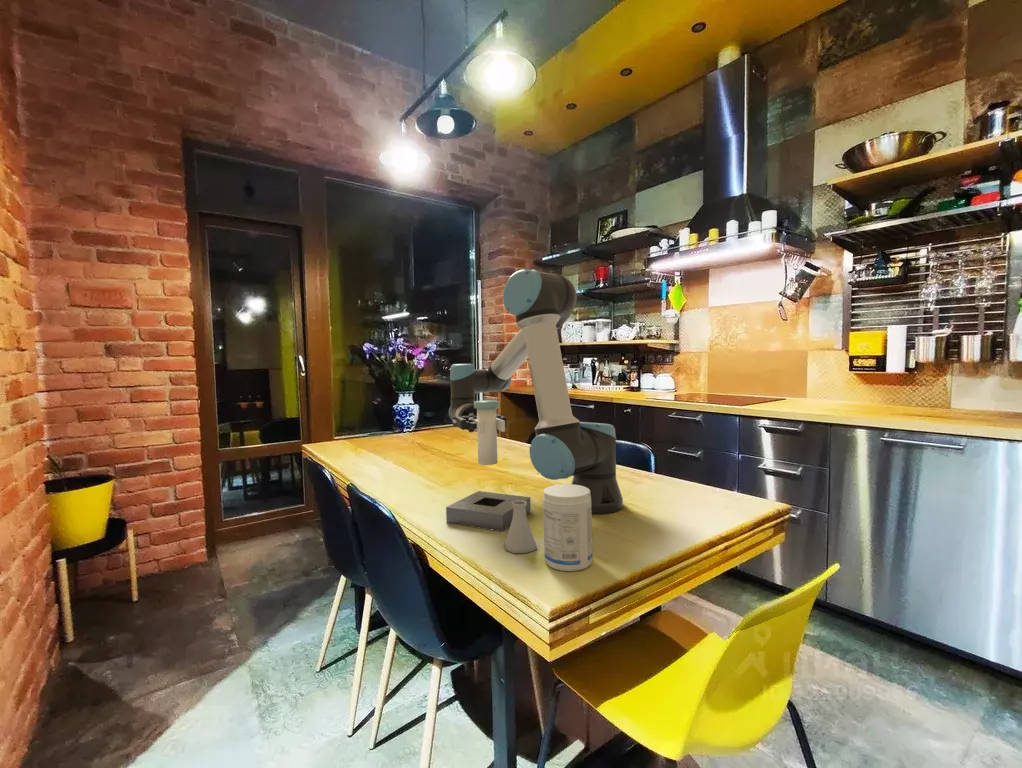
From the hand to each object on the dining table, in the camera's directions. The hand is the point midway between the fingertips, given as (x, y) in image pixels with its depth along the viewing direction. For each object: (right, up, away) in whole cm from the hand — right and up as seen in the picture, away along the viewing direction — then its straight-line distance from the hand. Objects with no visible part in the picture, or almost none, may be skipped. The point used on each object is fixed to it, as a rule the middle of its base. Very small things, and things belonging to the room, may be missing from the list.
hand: (492, 427), depth 118 cm
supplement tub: (+16, -25, -23) cm, 38 cm away
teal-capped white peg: (-1, -10, +5) cm, 11 cm away
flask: (+7, -25, -15) cm, 30 cm away
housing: (-1, -24, +5) cm, 25 cm away
